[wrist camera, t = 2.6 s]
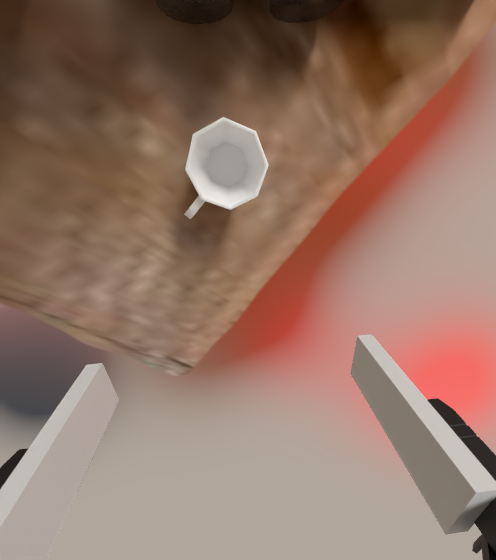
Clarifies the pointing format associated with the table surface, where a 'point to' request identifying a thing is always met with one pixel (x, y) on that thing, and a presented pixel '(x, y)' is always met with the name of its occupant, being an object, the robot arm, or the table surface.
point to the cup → (225, 165)
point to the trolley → (218, 3)
